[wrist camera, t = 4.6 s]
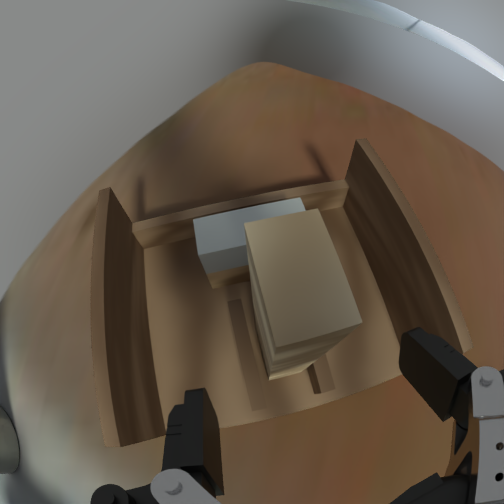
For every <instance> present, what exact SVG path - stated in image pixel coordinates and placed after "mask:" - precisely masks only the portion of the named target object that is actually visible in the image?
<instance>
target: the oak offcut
mask: <svg viewBox="0 0 504 504" xmlns="http://www.w3.org/2000/svg"><path fill="white" fill-rule="evenodd" d="M206 275H207V277H208V279H209V281H210V284H211V286H212V288H213V289H214V288H219V287H224V286H228V285H233V284H237V283H242V282H246V281H251V280H250V272H249V265H245V266H241V267H236V268H232V269H227V270H223V271H218V272H214V273H209V274H206Z"/></svg>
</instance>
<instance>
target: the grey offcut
mask: <svg viewBox="0 0 504 504" xmlns="http://www.w3.org/2000/svg"><path fill="white" fill-rule="evenodd" d="M302 211H306V210H305V207H304V205H303V203H302V200H301V198H300V197H299V198H294V199H288V200H283V201H278V202H273V203H268V204H263V205H258V206H253V207H248V208H243V209H238V210H234V211H229V212H224V213H220V214H215V215H210V216H206V217H201V218H197V219H193V223H194V230H195V237H196V244H197V251H198V256H199V258H200V261H201V263H202V265H203V268H204V270H205V272H206V274H209V273H214V272H218V271H223V270H227V269H232V268H236V267H241V266H245V265H249V263H248V255H247V246H246V237H245V228H244V223H248V222H252V221H257V220H262V219H267V218H272V217H277V216H282V215H287V214H292V213H297V212H302Z"/></svg>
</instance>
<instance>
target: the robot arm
mask: <svg viewBox="0 0 504 504" xmlns="http://www.w3.org/2000/svg"><path fill="white" fill-rule="evenodd" d="M399 368H400V371H401V373H402V374H403V376H404V377H405V378H406V379H407V380H408V381H409V383H410V384H411V385H412V386H413V387H414V388H415V389H416V391H417V392H418V393H419V394H420V395H421V396H422V398H423V399H424V400H425V401H426V402H427V404H428V405H429V406H430V407H431V408H432V409H433V411H434V412H435V413H436V414H437V415H438V417H439V418H440V419H441V420H442V421H443V422H444V421H445V420H447V419H449V418H450V417H453V418H454V419H455V420H454V422H453V432H452V445H451V455H450V461H449V465H448V467H447V470H446V473H445V476H444V477H441V478H440V476H439V475H438V473H435V474H433V475H432V476H430V477H428V478H426V479H425V480H423V481H421V482H419V483H417V484H416V485H414V486H412V487H410V488H409V489H408V490H406V491H405V492H404V493H403V494H401V495H400V496H399V497H398V498H396V499H395V500H394V501H392V502H391V503H390V504H504V370H501V371H498V370H496V369H495V368H492V367H480V368H477V367H476V366H475V365H474V364H473V363H472V362H470V361H469V360H468V359H467V358H466V357H465V356H463V355H462V354H461V353H460V352H459V351H457V350H455V348H454V347H453V346H451V345H449V343H448V342H446V341H445V340H444V339H443V338H442V337H439V336H436V335H434V334H428V333H427V332H426V331H424V330H423V329H422V328H420V327H416V328H414V329H411V330H409V331H407V332H404V333H403V334H402V336H401V343H400V353H399ZM18 463H19V446H18V441H17V436H16V433H15V430H14V427H13V425H12V423H11V421H10V419H9V417H8V415H7V414H6V412H5V411H4V410H3V409H2V407H0V474H10V473H12V472H14V471H15V470H16V469H17V466H18ZM218 495H224V487H223V475H222V462H221V447H220V432H219V422H218V418H217V415H216V412H215V410H214V407H213V405H212V402H211V400H210V398H209V395H208V393H207V390H206V389H205V388H198V389H191V390H186V391H185V395H184V404H178V405H174V407H173V409H172V410H171V412H170V413H169V415H168V422H167V430H166V438H165V446H164V455H163V465H162V470H161V472H160V473H159V474H157V475H156V476H155V477H154V479H153V480H152V482H151V483H150V484H148V485H146V486H142V487H138V488H134V489H130V490H126V491H125V490H124V489H123V488H121V487H120V486H118V485H114V484H107V485H103V486H101V487H99V488H98V489H97V490H96V491H95V492H94V493H93V495H92V498H91V504H221V503H220V502H218V501H217V500H216V496H218Z"/></svg>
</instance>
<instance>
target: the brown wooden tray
mask: <svg viewBox="0 0 504 504" xmlns="http://www.w3.org/2000/svg"><path fill="white" fill-rule="evenodd" d="M299 197H300V198H301V200H302V203H303V205H304V207H305V210H306V211H307V210H312V209H317V208H318V210H319V212H320V214H321V217H322V219H323V221H324V224H325V226H326V228H327V231H328V233H329V235H330V238H331V240H332V243H333V245H334V247H335V250H336V252H337V255H338V257H339V260H340V262H341V265H342V268H343V270H344V273H345V275H346V278H347V281H348V283H349V286H350V289H351V291H352V294H353V297H354V299H355V302H356V305H357V308H358V311H359V313H360V316H361V319H362V322H363V323H361V324H360V325H359V326H358V327H357V328H356V329H355V330H353V331H352V332H351V333H350V334H349V335H347V336H346V337H345V338H344V339H343V340H341V341H340V342H339V343H338V344H337V345H335V346H334V347H333V348H332V349H330V350H329V351H328V352H327V353H325V354H324V355H323V356H321V357H320V358H319V359H318V360H316V361H315V362H314V363H312V364H311V365H310V366H308V367H307V368H306V369H304V370H303V371H302V372H300V373H296V374H293V375H289V376H285V377H281V378H277V379H273V380H268V376H267V372H266V368H265V364H264V360H263V356H262V352H261V348H260V344H259V340H258V336H257V331H256V323H255V314H254V306H253V297H252V289H251V281H246V282H242V283H237V284H233V285H228V286H224V287H219V288H214V289H213V288H212V286H211V284H210V281H209V279H208V277H207V275H206V272H205V270H204V268H203V265H202V263H201V261H200V258H199V256H198V251H197V244H196V237H195V230H194V223H193V219H197V218H201V217H206V216H210V215H215V214H220V213H224V212H229V211H234V210H238V209H243V208H248V207H253V206H258V205H263V204H268V203H273V202H278V201H283V200H288V199H294V198H299ZM416 327H420V328H422V329H423V330H424V331H426V332H427V333H428V334H434V335H436V336H439V337H442V338H443V339H444V340H445V341H446V342H448V343H449V345H451V346H453V347H454V348H455V350H457V351H459V352H460V353H461V354H463V353H465V352H467V351H468V350H470V349H471V348H473V344H472V340H471V337H470V334H469V331H468V329H467V326H466V323H465V320H464V317H463V315H462V312H461V309H460V307H459V304H458V302H457V299H456V297H455V294H454V292H453V289H452V287H451V285H450V282H449V280H448V278H447V276H446V273H445V271H444V269H443V267H442V265H441V263H440V261H439V258H438V256H437V254H436V252H435V250H434V248H433V246H432V244H431V242H430V240H429V238H428V237H427V235H426V233H425V231H424V229H423V227H422V225H421V223H420V222H419V220H418V218H417V216H416V215H415V213H414V211H413V209H412V208H411V206H410V204H409V202H408V201H407V199H406V197H405V196H404V194H403V193H402V191H401V189H400V188H399V186H398V184H397V183H396V181H395V180H394V178H393V177H392V175H391V174H390V172H389V171H388V169H387V168H386V166H385V165H384V163H383V162H382V160H381V159H380V157H379V156H378V154H377V153H376V152H375V150H374V149H373V147H372V146H371V145H370V143H369V142H368V141H367V139H356V141H355V145H354V149H353V152H352V156H351V160H350V163H349V167H348V170H347V174H346V177H345V179H344V180H338V181H331V182H325V183H319V184H313V185H307V186H301V187H296V188H290V189H284V190H279V191H274V192H268V193H263V194H258V195H253V196H248V197H243V198H238V199H233V200H228V201H224V202H219V203H215V204H210V205H205V206H201V207H197V208H192V209H188V210H184V211H179V212H175V213H171V214H167V215H163V216H159V217H155V218H151V219H147V220H143V221H139V222H135V223H132V222H131V220H130V219H129V217H128V216H127V214H126V212H125V211H124V209H123V208H122V206H121V204H120V203H119V201H118V199H117V198H116V196H115V194H114V193H113V191H112V189H111V188H110V187H109V188H106V189H103V190H100V191H99V196H98V203H97V210H96V219H95V228H94V238H93V250H92V267H91V341H92V357H93V369H94V379H95V388H96V396H97V403H98V410H99V416H100V422H101V427H102V433H103V438H104V443H105V447H123V446H127V445H131V444H135V443H139V442H142V441H146V440H150V439H153V438H157V437H160V436H164V435H166V430H167V422H168V415H169V413H170V412H171V410H172V409H173V407H174V405H178V404H184V395H185V391H186V390H191V389H198V388H205V389H206V390H207V393H208V395H209V398H210V400H211V402H212V405H213V407H214V410H215V412H216V415H217V418H218V422H219V428H225V427H231V426H237V425H242V424H247V423H252V422H257V421H262V420H266V419H271V418H275V417H279V416H283V415H287V414H291V413H295V412H298V411H302V410H305V409H309V408H312V407H316V406H319V405H322V404H325V403H329V402H332V401H335V400H338V399H341V398H343V397H346V396H349V395H352V394H355V393H357V392H360V391H363V390H365V389H368V388H371V387H373V386H376V385H378V384H380V383H383V382H385V381H388V380H390V379H392V378H395V377H397V376H399V375H401V374H402V373H401V371H400V368H399V353H400V343H401V336H402V334H403V333H404V332H407V331H409V330H411V329H414V328H416Z"/></svg>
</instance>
